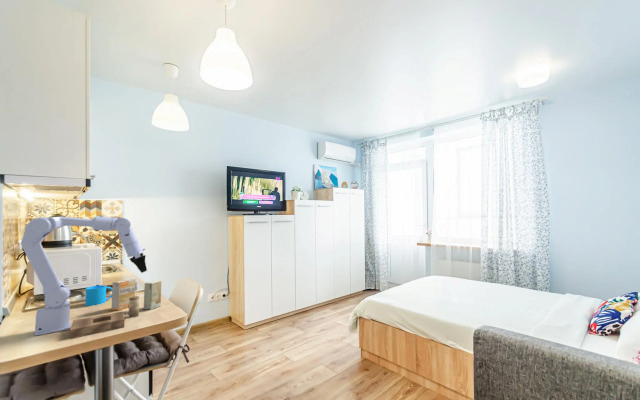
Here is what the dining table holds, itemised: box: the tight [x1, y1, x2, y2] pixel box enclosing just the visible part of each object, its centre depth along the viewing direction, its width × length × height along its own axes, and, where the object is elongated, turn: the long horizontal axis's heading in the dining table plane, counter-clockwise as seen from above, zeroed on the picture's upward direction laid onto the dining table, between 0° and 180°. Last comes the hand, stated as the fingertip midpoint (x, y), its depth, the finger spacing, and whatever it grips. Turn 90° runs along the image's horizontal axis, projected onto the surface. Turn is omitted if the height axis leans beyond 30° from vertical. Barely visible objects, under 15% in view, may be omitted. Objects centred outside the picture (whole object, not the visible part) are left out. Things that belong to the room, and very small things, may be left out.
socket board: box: [69, 311, 126, 339], centre depth 109 cm, size 16×12×3 cm
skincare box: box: [143, 280, 162, 310], centre depth 133 cm, size 6×4×12 cm
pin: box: [128, 295, 140, 318], centre depth 122 cm, size 4×4×8 cm
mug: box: [84, 284, 112, 307], centre depth 143 cm, size 12×8×8 cm
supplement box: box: [111, 278, 136, 312], centre depth 134 cm, size 8×5×13 cm, turn 161°
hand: (143, 270), depth 125 cm, fingers open, 7 cm apart
